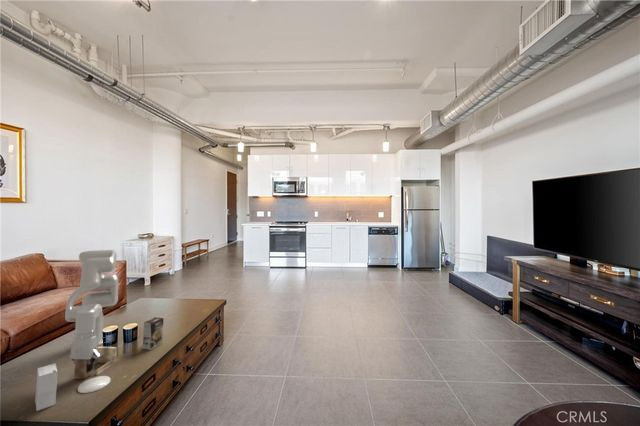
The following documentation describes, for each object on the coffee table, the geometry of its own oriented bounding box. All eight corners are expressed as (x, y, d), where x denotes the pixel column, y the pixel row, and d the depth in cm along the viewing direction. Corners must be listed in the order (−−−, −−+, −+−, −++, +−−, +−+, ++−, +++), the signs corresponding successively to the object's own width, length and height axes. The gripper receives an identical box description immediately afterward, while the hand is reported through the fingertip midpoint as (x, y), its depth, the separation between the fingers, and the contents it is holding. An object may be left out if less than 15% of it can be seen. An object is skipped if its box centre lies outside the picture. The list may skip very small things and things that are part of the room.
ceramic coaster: (70, 392, 122) (70, 391, 122) (92, 376, 134) (92, 375, 134) (96, 393, 122) (96, 392, 122) (116, 377, 134) (116, 376, 134)
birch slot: (77, 374, 135) (77, 358, 135) (97, 361, 148) (98, 346, 148) (97, 375, 135) (98, 359, 135) (116, 361, 148) (116, 347, 148)
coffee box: (151, 350, 161) (152, 323, 161) (142, 348, 162) (143, 322, 162) (163, 343, 170) (164, 317, 170) (154, 341, 171) (155, 316, 171)
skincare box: (34, 402, 115) (36, 368, 115) (54, 395, 120) (55, 362, 120) (36, 412, 110) (37, 376, 110) (56, 404, 115) (57, 369, 115)
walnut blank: (74, 378, 131) (75, 359, 131) (83, 372, 136) (84, 354, 136) (84, 378, 131) (85, 360, 131) (93, 372, 136) (93, 354, 136)
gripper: (61, 337, 130) (59, 374, 130) (96, 338, 130) (94, 375, 130) (75, 330, 137) (74, 365, 137) (108, 331, 137) (107, 366, 137)
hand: (84, 370), depth 133 cm, fingers closed on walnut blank, 5 cm apart
